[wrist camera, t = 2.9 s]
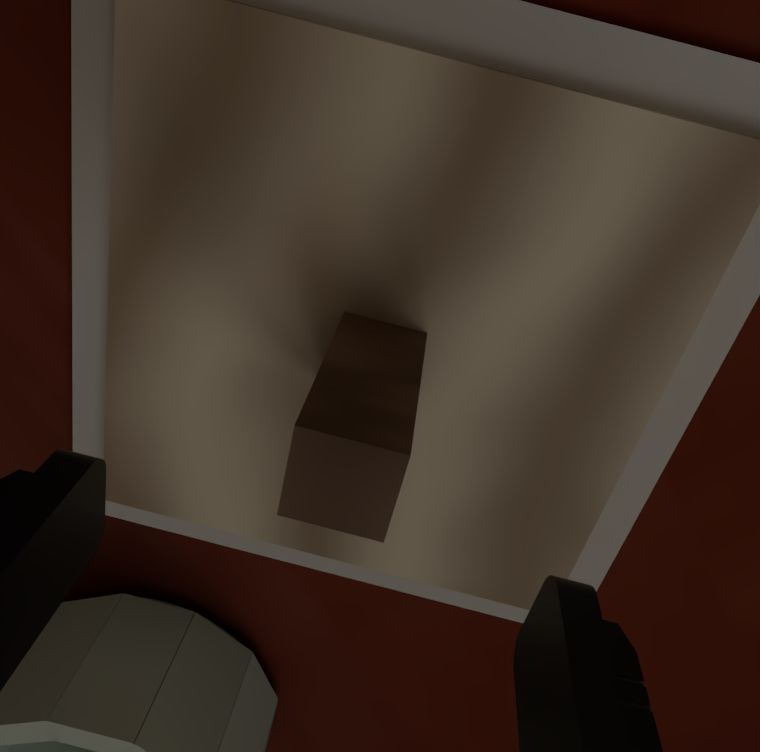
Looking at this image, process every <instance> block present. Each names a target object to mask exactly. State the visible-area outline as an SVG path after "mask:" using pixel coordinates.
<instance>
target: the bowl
mask: <svg viewBox="0 0 760 752" xmlns="http://www.w3.org/2000/svg"><path fill="white" fill-rule="evenodd" d="M277 702H278V698H277V696H276V694H275V692H274V690H273V688H272V687H271V685H270V683H269V681H268V679H267V677H266V676H265V674H264V672H263V670H262V668H261V666H260V665H259V663H258V661H257V659H256V657H255V655H254V653H253V652H252V651H251V650H249V649H248V648H247V647H245V646H244V645H242V644H241V643H239V642H238V641H237V640H236V639H235V638H234V637H233V636H231V635H230V634H229V633H228V632H226V631H225V630H224V629H222V628H221V627H219V626H218V625H216V624H215V623H213V622H212V621H210V620H208V619H206V618H205V617H203V616H201V615H199V614H198V613H196V612H194V611H191V610H187V609H185V608H183V607H180V606H177V605H174V604H171V603H167V602H164V601H159V600H155V599H150V598H143V597H136V596H133V595H129V594H125V593H124V594H123V593H122V594H115V595H108V596H102V597H95V598H88V599H81V600H75V601H68V602H62V603H61V605H60V606H59V607H58V609H57V610H56V612H55V613H54V615H53V616H52V618H51V619H50V621H49V622H48V623H47V625H46V626H45V628H44V629H43V631H42V632H41V634H40V635H39V636H38V638H37V639H36V641H35V642H34V644H33V645H32V647H31V648H30V649H29V651H28V652H27V654H26V655H25V657H24V658H23V660H22V661H21V663H20V664H19V665H18V667H17V668H16V670H15V671H14V673H13V674H12V676H11V677H10V678H9V680H8V681H7V683H6V684H5V686H4V687H3V689H2V690H1V692H0V752H265V750H266V746H267V742H268V739H269V735H270V731H271V727H272V722H273V718H274V714H275V710H276V706H277Z"/></svg>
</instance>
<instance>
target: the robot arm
mask: <svg viewBox="0 0 760 752" xmlns="http://www.w3.org/2000/svg"><path fill="white" fill-rule="evenodd" d="M105 503H106V463H105V461H104V460H103V459H100V458H96V457H93V456H89V455H85V454H81V453H77V452H73V451H69V450H65V449H58V450H56V451H55V452H54V453H53V454H52V455H51V456H50V457H49V458H48V459H47V460H46V461H45V462H44V463H43V464H42V465H41V466H40V467H39V468H38V469H37V470H36V472H35V473H31V472H27V471H23V470H20V469H19V470H17V471H15V472H13V473H11V474H9V475H8V476H6V477H4V478H2V479H0V692H1V690H2V689H3V687H4V686H5V684H6V683H7V681H8V680H9V678H10V677H11V676H12V674H13V673H14V671H15V670H16V668H17V667H18V665H19V664H20V663H21V661H22V660H23V658H24V657H25V655H26V654H27V652H28V651H29V649H30V648H31V647H32V645H33V644H34V642H35V641H36V639H37V638H38V636H39V635H40V634H41V632H42V631H43V629H44V628H45V626H46V625H47V623H48V622H49V621H50V619H51V618H52V616H53V615H54V613H55V612H56V610H57V609H58V607H59V606H60V605H61V603H62V602H63V600H64V599H65V597H66V596H67V594H68V593H69V592H70V590H71V589H72V587H73V586H74V584H75V583H76V581H77V580H78V578H79V577H80V576H81V574H82V573H83V571H84V570H85V568H86V567H87V565H88V564H89V563H90V561H91V560H92V558H93V556H94V555H95V553H96V551H97V549H98V547H99V544H100V542H101V539H102V535H103V532H104V526H105ZM514 679H515V693H516V706H517V720H518V734H519V748H520V752H663V750H662V746H661V742H660V739H659V735H658V731H657V727H656V724H655V720H654V716H653V712H650V706H651V705H650V701H649V697H648V694H647V690H646V687H644V686H643V683H644V679H643V675H642V671H641V668H640V664H639V660H638V656H637V653H636V651H635V649H634V648H633V646H632V645H631V643H630V641H629V640H628V638H627V637H626V635H625V634H624V632H623V631H622V629H621V628H620V626H619V625H618V624H617V623H614V622H610V621H606V620H602V615H601V611H600V606H599V602H598V597H597V594H596V591H595V588H594V587H593V586H591V585H588V584H584V583H580V582H576V581H572V580H568V579H565V578H561V577H557V576H553V575H550V576H548V577H547V578H546V579H545V581H544V583H543V585H542V587H541V589H540V591H539V593H538V595H537V597H536V599H535V601H534V603H533V605H532V607H531V609H530V611H529V613H528V615H527V617H526V619H525V621H524V623H523V625H522V627H521V629H520V631H519V634H518V637H517V641H516V645H515V652H514Z"/></svg>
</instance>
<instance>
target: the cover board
mask: <svg viewBox="0 0 760 752" xmlns="http://www.w3.org/2000/svg"><path fill="white" fill-rule="evenodd" d="M759 205H760V138H757V137H753V136H749V135H746V134H742V133H738V132H734V131H730V130H726V129H723V128H719V127H715V126H711V125H707V124H703V123H700V122H696V121H692V120H688V119H684V118H680V117H677V116H673V115H669V114H665V113H661V112H657V111H654V110H650V109H646V108H642V107H638V106H635V105H631V104H627V103H623V102H619V101H615V100H612V99H608V98H604V97H600V96H596V95H592V94H589V93H585V92H581V91H577V90H573V89H569V88H566V87H562V86H558V85H554V84H550V83H547V82H543V81H539V80H535V79H531V78H527V77H524V76H520V75H516V74H512V73H508V72H504V71H501V70H497V69H493V68H489V67H485V66H481V65H478V64H474V63H470V62H466V61H462V60H458V59H455V58H451V57H447V56H443V55H439V54H436V53H432V52H428V51H424V50H420V49H416V48H413V47H409V46H405V45H401V44H397V43H393V42H390V41H386V40H382V39H378V38H374V37H370V36H367V35H363V34H359V33H355V32H351V31H348V30H344V29H340V28H336V27H332V26H328V25H325V24H321V23H317V22H313V21H309V20H305V19H302V18H298V17H294V16H290V15H286V14H282V13H279V12H275V11H271V10H267V9H263V8H259V7H256V6H252V5H248V4H244V3H240V2H237V1H233V0H115V27H114V67H113V106H112V146H111V185H110V225H109V264H108V304H107V343H106V383H105V423H104V461H105V463H106V501H110V502H114V503H118V504H122V505H126V506H129V507H133V508H137V509H141V510H145V511H149V512H153V513H156V514H160V515H164V516H168V517H172V518H176V519H180V520H183V521H187V522H191V523H195V524H199V525H203V526H207V527H210V528H214V529H218V530H222V531H226V532H230V533H233V534H237V535H241V536H245V537H249V538H253V539H257V540H260V541H264V542H268V543H272V544H276V545H280V546H284V547H287V548H291V549H295V550H299V551H303V552H307V553H311V554H314V555H318V556H322V557H326V558H330V559H334V560H338V561H341V562H345V563H349V564H353V565H357V566H361V567H365V568H368V569H372V570H376V571H380V572H384V573H388V574H392V575H395V576H399V577H403V578H407V579H411V580H415V581H419V582H422V583H426V584H430V585H434V586H438V587H442V588H446V589H449V590H453V591H457V592H461V593H465V594H469V595H473V596H476V597H480V598H484V599H488V600H492V601H496V602H500V603H503V604H507V605H511V606H515V607H519V608H523V609H527V610H530V609H531V607H532V605H533V603H534V601H535V599H536V597H537V595H538V593H539V591H540V589H541V587H542V585H543V583H544V581H545V579H546V578H547V577H548V576H550V575H553V576H557V577H561V578H565V579H568V577H569V575H570V573H571V572H572V570H573V568H574V566H575V564H576V562H577V560H578V558H579V556H580V554H581V552H582V550H583V548H584V546H585V544H586V542H587V540H588V538H589V536H590V534H591V533H592V531H593V529H594V527H595V525H596V523H597V521H598V519H599V517H600V515H601V513H602V511H603V509H604V507H605V505H606V503H607V501H608V499H609V497H610V495H611V494H612V492H613V490H614V488H615V486H616V484H617V482H618V480H619V478H620V476H621V474H622V472H623V470H624V468H625V466H626V464H627V462H628V460H629V458H630V456H631V454H632V453H633V451H634V449H635V447H636V445H637V443H638V441H639V439H640V437H641V435H642V433H643V431H644V429H645V427H646V425H647V423H648V421H649V419H650V417H651V415H652V414H653V412H654V410H655V408H656V406H657V404H658V402H659V400H660V398H661V396H662V394H663V392H664V390H665V388H666V386H667V384H668V382H669V380H670V378H671V376H672V374H673V373H674V371H675V369H676V367H677V365H678V363H679V361H680V359H681V357H682V355H683V353H684V351H685V349H686V347H687V345H688V343H689V341H690V339H691V337H692V335H693V334H694V332H695V330H696V328H697V326H698V324H699V322H700V320H701V318H702V316H703V314H704V312H705V310H706V308H707V306H708V304H709V302H710V300H711V298H712V296H713V295H714V293H715V291H716V289H717V287H718V285H719V283H720V281H721V279H722V277H723V275H724V273H725V271H726V269H727V267H728V265H729V263H730V261H731V259H732V257H733V255H734V254H735V252H736V250H737V248H738V246H739V244H740V242H741V240H742V238H743V236H744V234H745V232H746V230H747V228H748V226H749V224H750V222H751V220H752V218H753V216H754V215H755V213H756V211H757V209H758V207H759Z"/></svg>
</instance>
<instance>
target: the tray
mask: <svg viewBox="0 0 760 752" xmlns="http://www.w3.org/2000/svg"><path fill="white" fill-rule="evenodd" d="M233 1H237V2H240V3H244V4H248V5H252V6H256V7H259V8H263V9H267V10H271V11H275V12H279V13H282V14H286V15H290V16H294V17H298V18H302V19H305V20H309V21H313V22H317V23H321V24H325V25H328V26H332V27H336V28H340V29H344V30H348V31H351V32H355V33H359V34H363V35H367V36H370V37H374V38H378V39H382V40H386V41H390V42H393V43H397V44H401V45H405V46H409V47H413V48H416V49H420V50H424V51H428V52H432V53H436V54H439V55H443V56H447V57H451V58H455V59H458V60H462V61H466V62H470V63H474V64H478V65H481V66H485V67H489V68H493V69H497V70H501V71H504V72H508V73H512V74H516V75H520V76H524V77H527V78H531V79H535V80H539V81H543V82H547V83H550V84H554V85H558V86H562V87H566V88H569V89H573V90H577V91H581V92H585V93H589V94H592V95H596V96H600V97H604V98H608V99H612V100H615V101H619V102H623V103H627V104H631V105H635V106H638V107H642V108H646V109H650V110H654V111H657V112H661V113H665V114H669V115H673V116H677V117H680V118H684V119H688V120H692V121H696V122H700V123H703V124H707V125H711V126H715V127H719V128H723V129H726V130H730V131H734V132H738V133H742V134H746V135H749V136H753V137H757V138H760V63H758V62H754V61H750V60H746V59H742V58H738V57H735V56H731V55H727V54H723V53H719V52H716V51H712V50H708V49H704V48H700V47H696V46H693V45H689V44H685V43H681V42H677V41H673V40H670V39H666V38H662V37H658V36H654V35H651V34H647V33H643V32H639V31H635V30H631V29H628V28H624V27H620V26H616V25H612V24H608V23H605V22H601V21H597V20H593V19H589V18H586V17H582V16H578V15H574V14H570V13H566V12H563V11H559V10H555V9H551V8H547V7H543V6H540V5H536V4H532V3H528V2H524V1H521V0H233ZM114 27H115V0H71V80H72V384H73V452H77V453H81V454H85V455H89V456H93V457H96V458H100V459H103V460H104V423H105V383H106V343H107V304H108V264H109V225H110V185H111V146H112V106H113V67H114ZM759 295H760V205H759V207H758V209H757V211H756V213H755V215H754V216H753V218H752V220H751V222H750V224H749V226H748V228H747V230H746V232H745V234H744V236H743V238H742V240H741V242H740V244H739V246H738V248H737V250H736V252H735V254H734V255H733V257H732V259H731V261H730V263H729V265H728V267H727V269H726V271H725V273H724V275H723V277H722V279H721V281H720V283H719V285H718V287H717V289H716V291H715V293H714V295H713V296H712V298H711V300H710V302H709V304H708V306H707V308H706V310H705V312H704V314H703V316H702V318H701V320H700V322H699V324H698V326H697V328H696V330H695V332H694V334H693V335H692V337H691V339H690V341H689V343H688V345H687V347H686V349H685V351H684V353H683V355H682V357H681V359H680V361H679V363H678V365H677V367H676V369H675V371H674V373H673V374H672V376H671V378H670V380H669V382H668V384H667V386H666V388H665V390H664V392H663V394H662V396H661V398H660V400H659V402H658V404H657V406H656V408H655V410H654V412H653V414H652V415H651V417H650V419H649V421H648V423H647V425H646V427H645V429H644V431H643V433H642V435H641V437H640V439H639V441H638V443H637V445H636V447H635V449H634V451H633V453H632V454H631V456H630V458H629V460H628V462H627V464H626V466H625V468H624V470H623V472H622V474H621V476H620V478H619V480H618V482H617V484H616V486H615V488H614V490H613V492H612V494H611V495H610V497H609V499H608V501H607V503H606V505H605V507H604V509H603V511H602V513H601V515H600V517H599V519H598V521H597V523H596V525H595V527H594V529H593V531H592V533H591V534H590V536H589V538H588V540H587V542H586V544H585V546H584V548H583V550H582V552H581V554H580V556H579V558H578V560H577V562H576V564H575V566H574V568H573V570H572V572H571V573H570V575H569V577H568V580H572V581H576V582H580V583H584V584H588V585H591V586H593V587H594V588H595V591H597V590H598V588H599V586H600V584H601V582H602V581H603V579H604V577H605V575H606V573H607V571H608V570H609V568H610V566H611V564H612V562H613V561H614V559H615V557H616V555H617V553H618V551H619V550H620V548H621V546H622V544H623V542H624V541H625V539H626V537H627V535H628V533H629V531H630V530H631V528H632V526H633V524H634V522H635V521H636V519H637V517H638V515H639V513H640V511H641V510H642V508H643V506H644V504H645V502H646V500H647V499H648V497H649V495H650V493H651V491H652V490H653V488H654V486H655V484H656V482H657V480H658V479H659V477H660V475H661V473H662V471H663V470H664V468H665V466H666V464H667V462H668V460H669V459H670V457H671V455H672V453H673V451H674V450H675V448H676V446H677V444H678V442H679V440H680V439H681V437H682V435H683V433H684V431H685V430H686V428H687V426H688V424H689V422H690V420H691V419H692V417H693V415H694V413H695V411H696V410H697V408H698V406H699V404H700V402H701V400H702V399H703V397H704V395H705V393H706V391H707V390H708V388H709V386H710V384H711V382H712V380H713V379H714V377H715V375H716V373H717V371H718V370H719V368H720V366H721V364H722V362H723V360H724V359H725V357H726V355H727V353H728V351H729V350H730V348H731V346H732V344H733V342H734V340H735V339H736V337H737V335H738V333H739V331H740V330H741V328H742V326H743V324H744V322H745V320H746V319H747V317H748V315H749V313H750V311H751V310H752V308H753V306H754V304H755V302H756V300H757V299H758V297H759ZM105 515H108V516H111V517H115V518H119V519H123V520H127V521H131V522H135V523H138V524H142V525H146V526H150V527H154V528H158V529H162V530H165V531H169V532H173V533H177V534H181V535H185V536H189V537H192V538H196V539H200V540H204V541H208V542H212V543H216V544H219V545H223V546H227V547H231V548H235V549H239V550H243V551H246V552H250V553H254V554H258V555H262V556H266V557H270V558H273V559H277V560H281V561H285V562H289V563H293V564H297V565H300V566H304V567H308V568H312V569H316V570H320V571H324V572H327V573H331V574H335V575H339V576H343V577H347V578H351V579H354V580H358V581H362V582H366V583H370V584H374V585H378V586H381V587H385V588H389V589H393V590H397V591H401V592H405V593H408V594H412V595H416V596H420V597H424V598H428V599H432V600H435V601H439V602H443V603H447V604H451V605H455V606H459V607H462V608H466V609H470V610H474V611H478V612H482V613H486V614H489V615H493V616H497V617H501V618H505V619H509V620H513V621H516V622H520V623H524V621H525V619H526V617H527V615H528V613H529V611H530V610H527V609H523V608H519V607H515V606H511V605H507V604H503V603H500V602H496V601H492V600H488V599H484V598H480V597H476V596H473V595H469V594H465V593H461V592H457V591H453V590H449V589H446V588H442V587H438V586H434V585H430V584H426V583H422V582H419V581H415V580H411V579H407V578H403V577H399V576H395V575H392V574H388V573H384V572H380V571H376V570H372V569H368V568H365V567H361V566H357V565H353V564H349V563H345V562H341V561H338V560H334V559H330V558H326V557H322V556H318V555H314V554H311V553H307V552H303V551H299V550H295V549H291V548H287V547H284V546H280V545H276V544H272V543H268V542H264V541H260V540H257V539H253V538H249V537H245V536H241V535H237V534H233V533H230V532H226V531H222V530H218V529H214V528H210V527H207V526H203V525H199V524H195V523H191V522H187V521H183V520H180V519H176V518H172V517H168V516H164V515H160V514H156V513H153V512H149V511H145V510H141V509H137V508H133V507H129V506H126V505H122V504H118V503H114V502H110V501H106V503H105Z"/></svg>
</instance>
